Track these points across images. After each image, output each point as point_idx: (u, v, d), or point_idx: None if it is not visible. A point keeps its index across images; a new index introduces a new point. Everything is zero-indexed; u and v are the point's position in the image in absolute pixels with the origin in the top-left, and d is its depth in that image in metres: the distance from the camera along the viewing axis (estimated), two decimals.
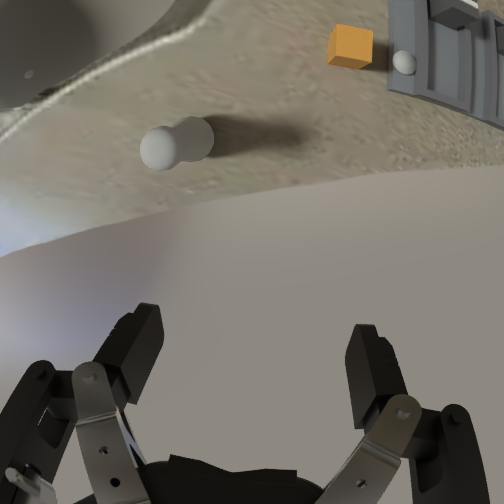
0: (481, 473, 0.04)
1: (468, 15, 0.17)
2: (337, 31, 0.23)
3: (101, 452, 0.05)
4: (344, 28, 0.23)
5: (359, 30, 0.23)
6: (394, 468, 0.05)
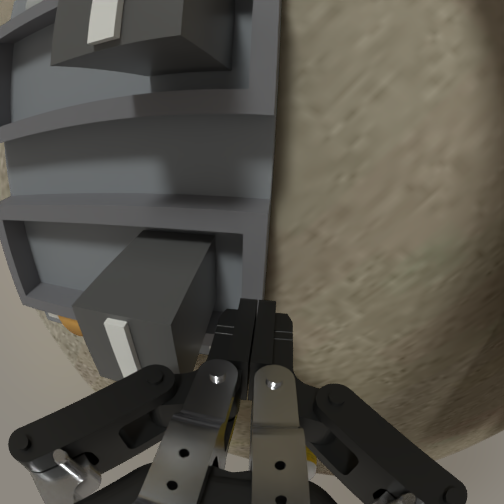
0: (399, 435, 0.06)
1: None
2: None
3: (180, 453, 0.05)
4: None
5: None
6: (300, 437, 0.06)
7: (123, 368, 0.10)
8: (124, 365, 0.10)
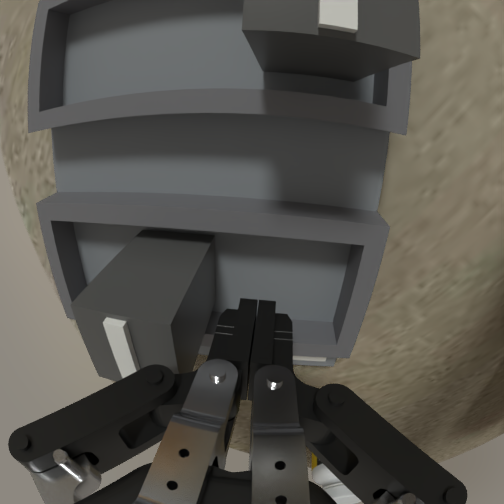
0: (399, 435, 0.06)
1: None
2: None
3: (180, 453, 0.05)
4: None
5: None
6: (300, 437, 0.06)
7: (122, 368, 0.10)
8: (123, 365, 0.10)
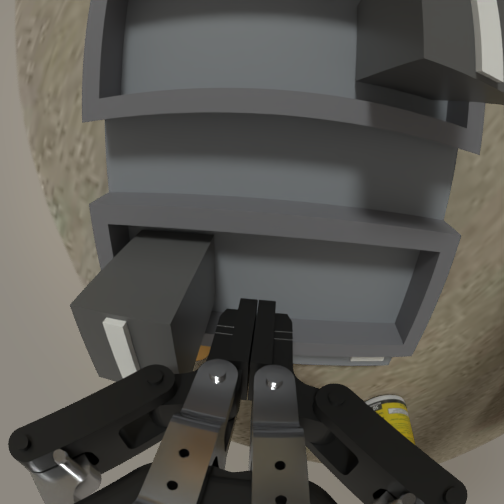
0: (399, 435, 0.06)
1: None
2: None
3: (180, 453, 0.05)
4: None
5: None
6: (300, 437, 0.06)
7: (122, 368, 0.10)
8: (123, 365, 0.10)
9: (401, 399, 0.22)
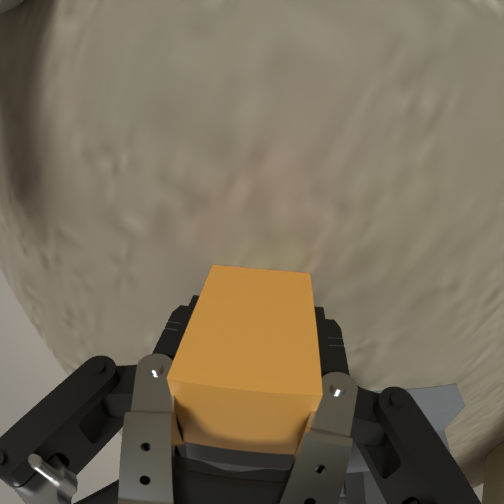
0: (443, 447, 0.05)
1: None
2: (283, 393, 0.07)
3: (142, 448, 0.05)
4: (299, 411, 0.07)
5: (295, 437, 0.08)
6: (347, 446, 0.05)
7: None
8: None
9: None
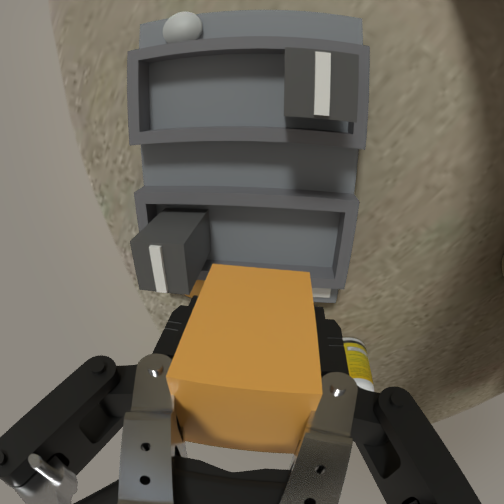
0: (443, 448, 0.05)
1: None
2: (283, 392, 0.07)
3: (142, 448, 0.05)
4: (299, 410, 0.07)
5: (294, 436, 0.08)
6: (347, 446, 0.05)
7: (156, 276, 0.20)
8: (156, 274, 0.20)
9: (360, 341, 0.32)
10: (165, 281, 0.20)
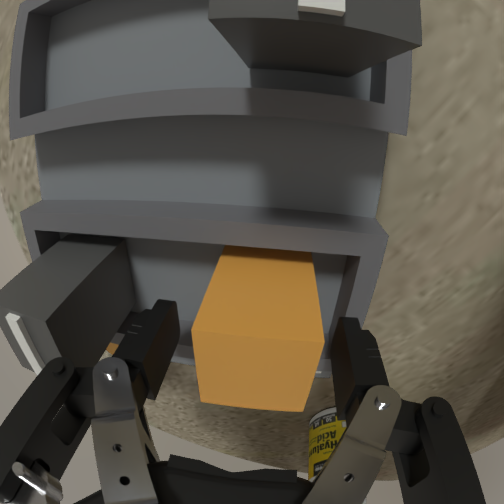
0: (470, 463, 0.05)
1: None
2: (291, 341, 0.08)
3: (114, 449, 0.05)
4: (305, 360, 0.09)
5: (301, 390, 0.09)
6: (380, 459, 0.05)
7: (28, 359, 0.09)
8: (28, 356, 0.09)
9: None
10: (44, 365, 0.10)
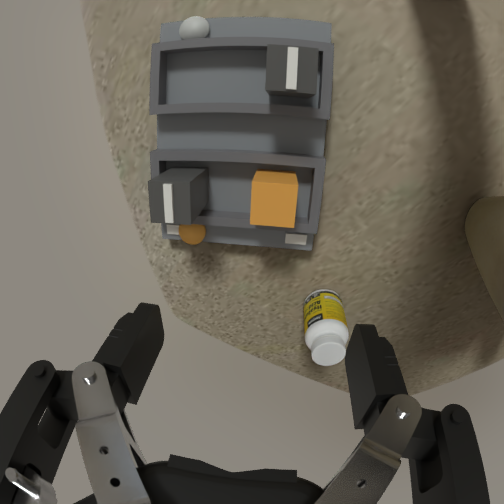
0: (481, 474, 0.04)
1: None
2: (286, 185, 0.25)
3: (101, 452, 0.05)
4: (292, 193, 0.25)
5: (292, 212, 0.26)
6: (394, 468, 0.05)
7: (166, 209, 0.25)
8: (166, 207, 0.25)
9: (336, 293, 0.38)
10: (173, 213, 0.26)
